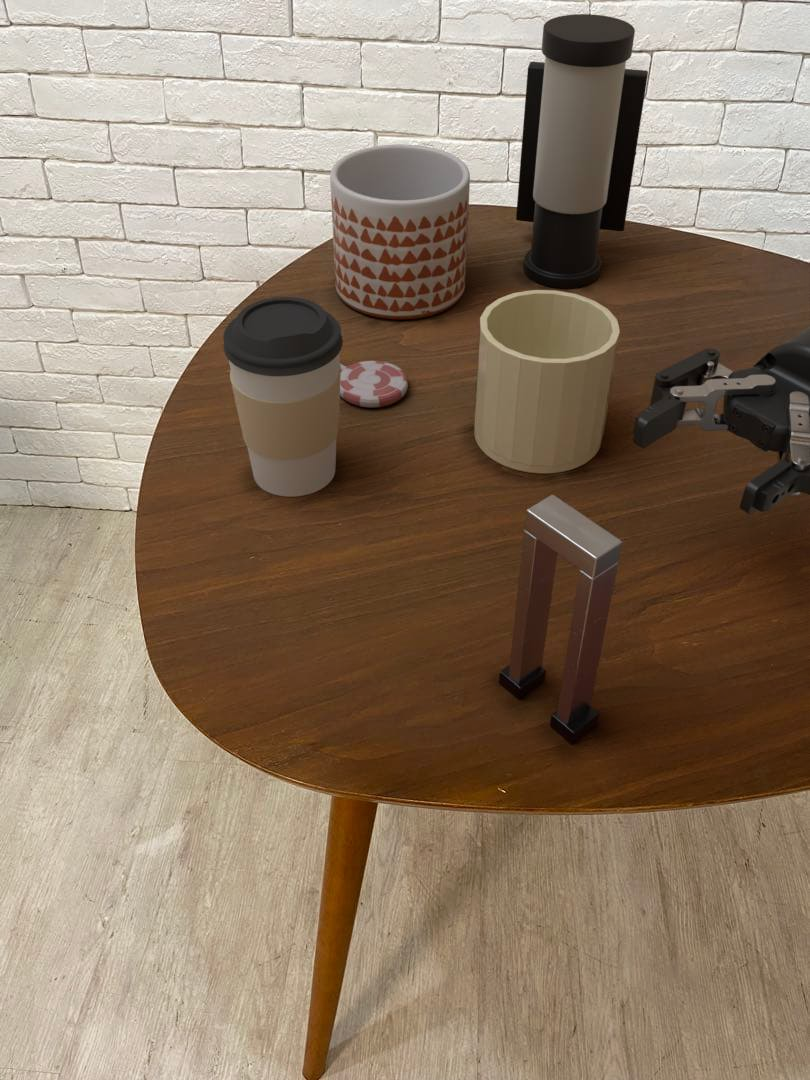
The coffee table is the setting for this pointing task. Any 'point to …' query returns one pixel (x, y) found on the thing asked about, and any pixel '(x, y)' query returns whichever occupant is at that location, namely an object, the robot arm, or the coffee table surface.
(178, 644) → the coffee table surface
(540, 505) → the tongs
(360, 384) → the lollipop
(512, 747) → the coffee table surface
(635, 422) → the robot arm
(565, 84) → the light fixture
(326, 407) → the coffee cup
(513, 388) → the crock
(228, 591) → the coffee table surface
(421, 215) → the planter
